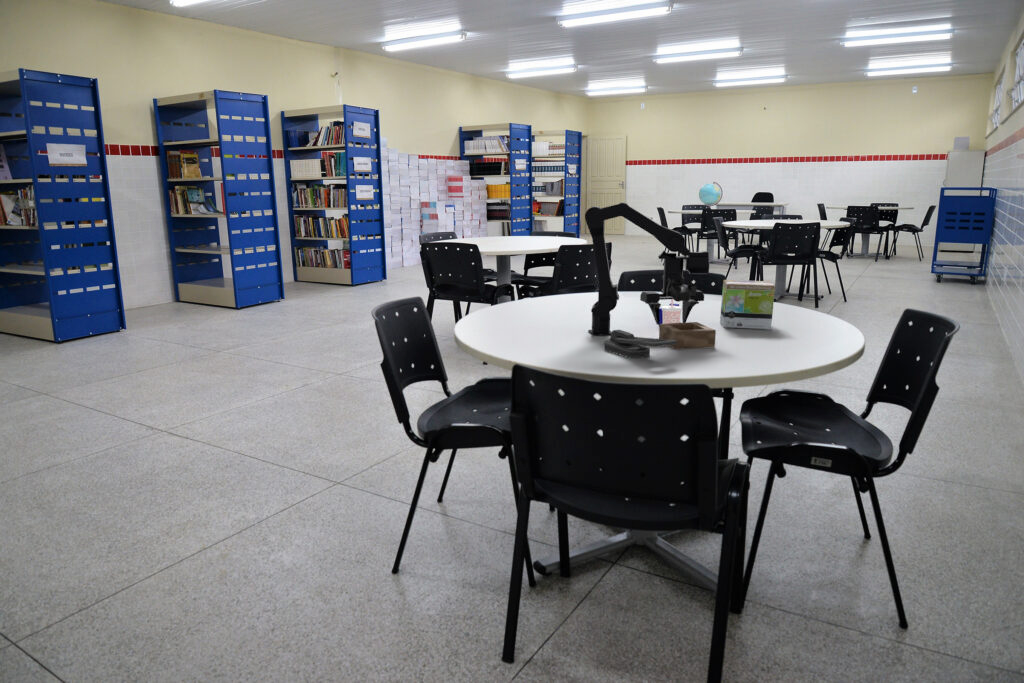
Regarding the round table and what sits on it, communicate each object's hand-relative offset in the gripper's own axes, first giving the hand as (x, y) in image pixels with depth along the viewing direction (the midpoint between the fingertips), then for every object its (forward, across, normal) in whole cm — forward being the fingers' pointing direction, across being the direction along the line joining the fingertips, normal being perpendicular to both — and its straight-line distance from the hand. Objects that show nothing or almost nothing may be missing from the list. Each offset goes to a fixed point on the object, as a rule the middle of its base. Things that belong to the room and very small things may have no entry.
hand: (670, 323), depth 209 cm
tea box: (+4, +30, +8) cm, 31 cm away
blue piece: (+4, +7, +18) cm, 20 cm away
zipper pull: (+4, -19, -21) cm, 29 cm away
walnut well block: (+4, 0, -11) cm, 12 cm away
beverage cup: (+4, 0, 0) cm, 4 cm away
